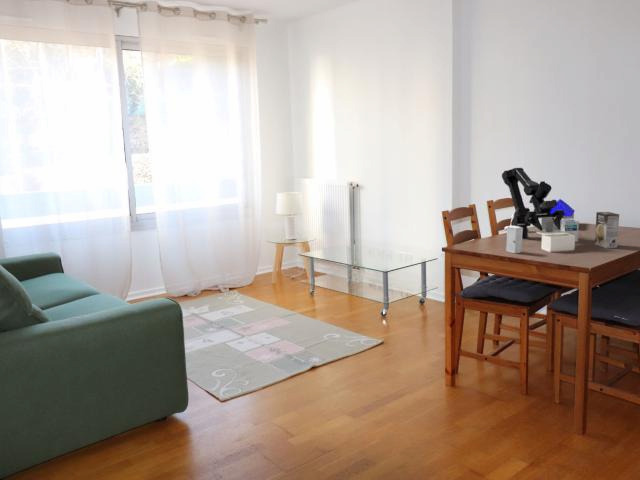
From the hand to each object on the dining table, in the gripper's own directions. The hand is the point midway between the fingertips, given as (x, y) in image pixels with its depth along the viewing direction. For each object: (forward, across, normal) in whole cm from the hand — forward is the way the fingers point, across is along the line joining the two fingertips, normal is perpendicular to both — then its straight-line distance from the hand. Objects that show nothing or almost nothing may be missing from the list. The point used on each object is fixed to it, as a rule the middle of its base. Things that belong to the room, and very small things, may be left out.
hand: (550, 229), depth 274 cm
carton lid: (+2, 0, 0) cm, 2 cm away
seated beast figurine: (-29, +7, +42) cm, 51 cm away
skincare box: (+10, -21, +3) cm, 23 cm away
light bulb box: (-4, +18, +16) cm, 25 cm away
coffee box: (+10, +26, +2) cm, 28 cm away
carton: (+11, 0, +1) cm, 11 cm away
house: (-34, +38, +47) cm, 69 cm away
